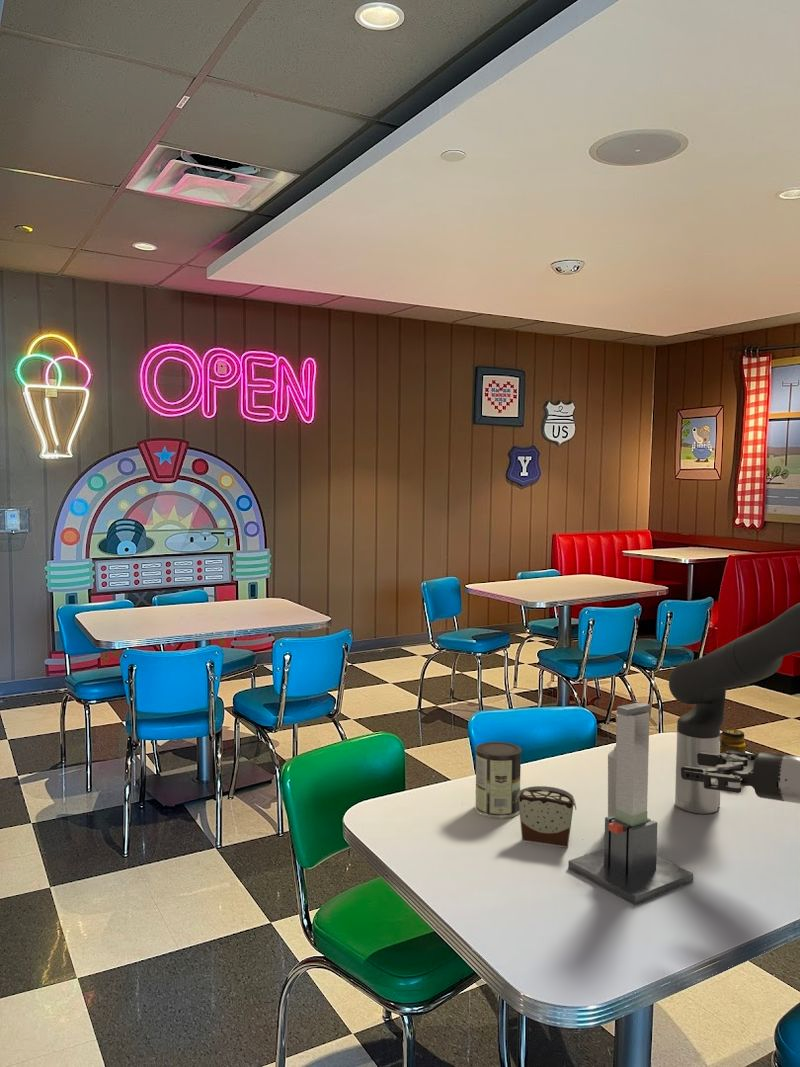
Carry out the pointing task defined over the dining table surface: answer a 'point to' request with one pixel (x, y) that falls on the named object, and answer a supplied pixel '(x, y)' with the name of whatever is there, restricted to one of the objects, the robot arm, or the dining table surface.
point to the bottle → (612, 777)
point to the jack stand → (630, 863)
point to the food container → (545, 815)
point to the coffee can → (497, 779)
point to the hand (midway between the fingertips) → (689, 765)
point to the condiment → (732, 741)
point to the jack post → (632, 764)
